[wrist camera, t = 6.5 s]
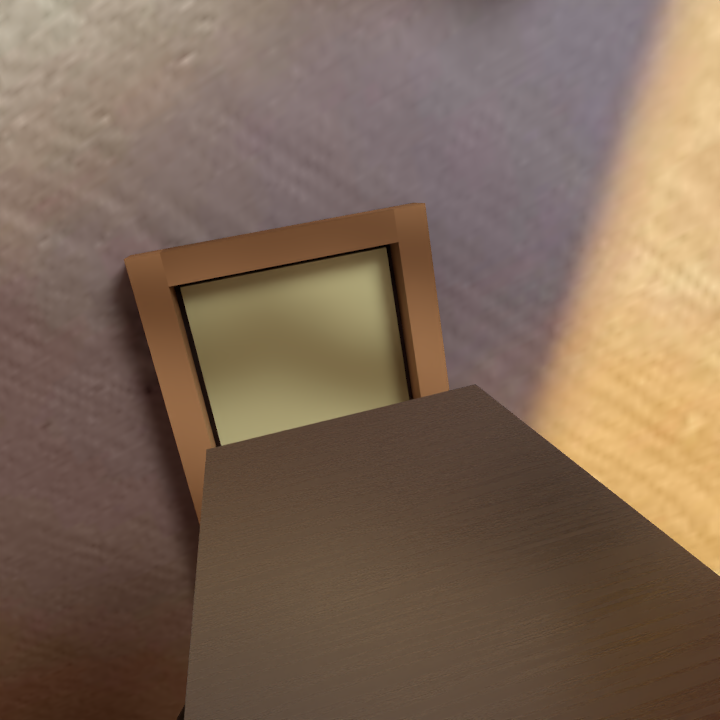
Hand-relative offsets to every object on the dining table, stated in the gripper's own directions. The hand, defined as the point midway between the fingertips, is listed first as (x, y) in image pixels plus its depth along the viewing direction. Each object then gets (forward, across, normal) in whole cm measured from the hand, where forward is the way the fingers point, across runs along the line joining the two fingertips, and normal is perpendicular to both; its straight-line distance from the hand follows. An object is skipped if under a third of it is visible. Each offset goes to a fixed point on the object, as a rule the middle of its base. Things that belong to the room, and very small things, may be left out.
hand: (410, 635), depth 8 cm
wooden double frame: (+13, 0, +5) cm, 14 cm away
